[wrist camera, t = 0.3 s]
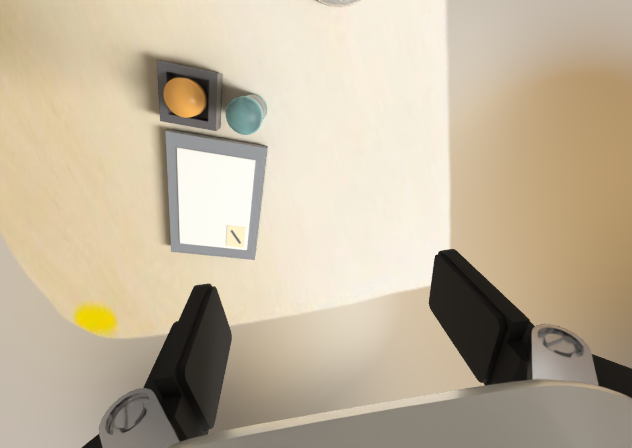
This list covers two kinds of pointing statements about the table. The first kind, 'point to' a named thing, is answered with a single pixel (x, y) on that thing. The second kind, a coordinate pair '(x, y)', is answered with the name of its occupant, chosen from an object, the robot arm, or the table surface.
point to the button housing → (208, 82)
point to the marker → (246, 113)
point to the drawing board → (214, 194)
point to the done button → (185, 97)
